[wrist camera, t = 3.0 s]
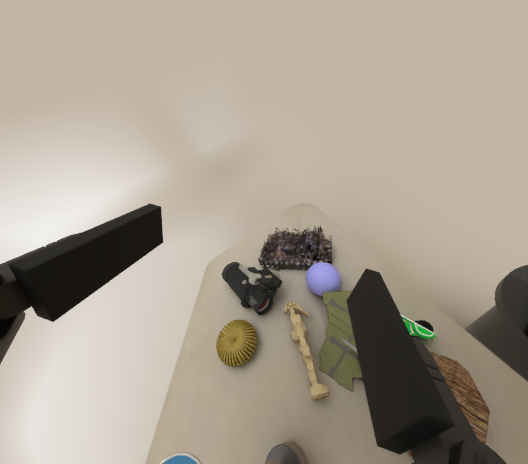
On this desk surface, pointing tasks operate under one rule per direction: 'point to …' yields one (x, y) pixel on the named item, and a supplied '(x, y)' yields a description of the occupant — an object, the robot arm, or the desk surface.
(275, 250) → the dark brown fibrous block
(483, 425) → the wooden sandwich slab
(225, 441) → the desk surface
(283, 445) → the brush
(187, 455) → the disc
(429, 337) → the toy car
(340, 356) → the map
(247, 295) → the scope
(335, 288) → the sphere
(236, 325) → the sculpture
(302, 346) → the toy
